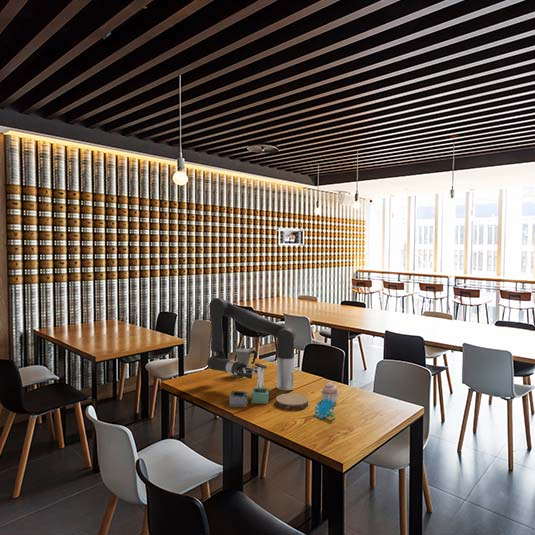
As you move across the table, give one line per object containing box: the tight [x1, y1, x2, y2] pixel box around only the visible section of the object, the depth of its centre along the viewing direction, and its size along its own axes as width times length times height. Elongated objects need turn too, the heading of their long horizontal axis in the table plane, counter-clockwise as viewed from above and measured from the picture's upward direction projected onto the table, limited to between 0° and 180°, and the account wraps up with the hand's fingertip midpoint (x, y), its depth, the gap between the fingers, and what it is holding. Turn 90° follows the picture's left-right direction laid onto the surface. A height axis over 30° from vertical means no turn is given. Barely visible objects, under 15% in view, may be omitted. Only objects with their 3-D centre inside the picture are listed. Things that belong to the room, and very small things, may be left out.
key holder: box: [251, 387, 270, 405], centre depth 207 cm, size 8×8×5 cm
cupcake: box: [320, 381, 340, 404], centre depth 208 cm, size 9×9×10 cm
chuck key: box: [254, 362, 268, 393], centre depth 207 cm, size 8×3×18 cm, turn 46°
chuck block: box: [228, 390, 249, 408], centre depth 201 cm, size 8×8×5 cm
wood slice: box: [275, 393, 309, 411], centre depth 203 cm, size 16×16×3 cm
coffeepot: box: [233, 344, 258, 367], centre depth 251 cm, size 15×9×18 cm, turn 70°
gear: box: [314, 398, 336, 420], centre depth 189 cm, size 11×6×10 cm
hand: (257, 375), depth 208 cm, fingers open, 8 cm apart
